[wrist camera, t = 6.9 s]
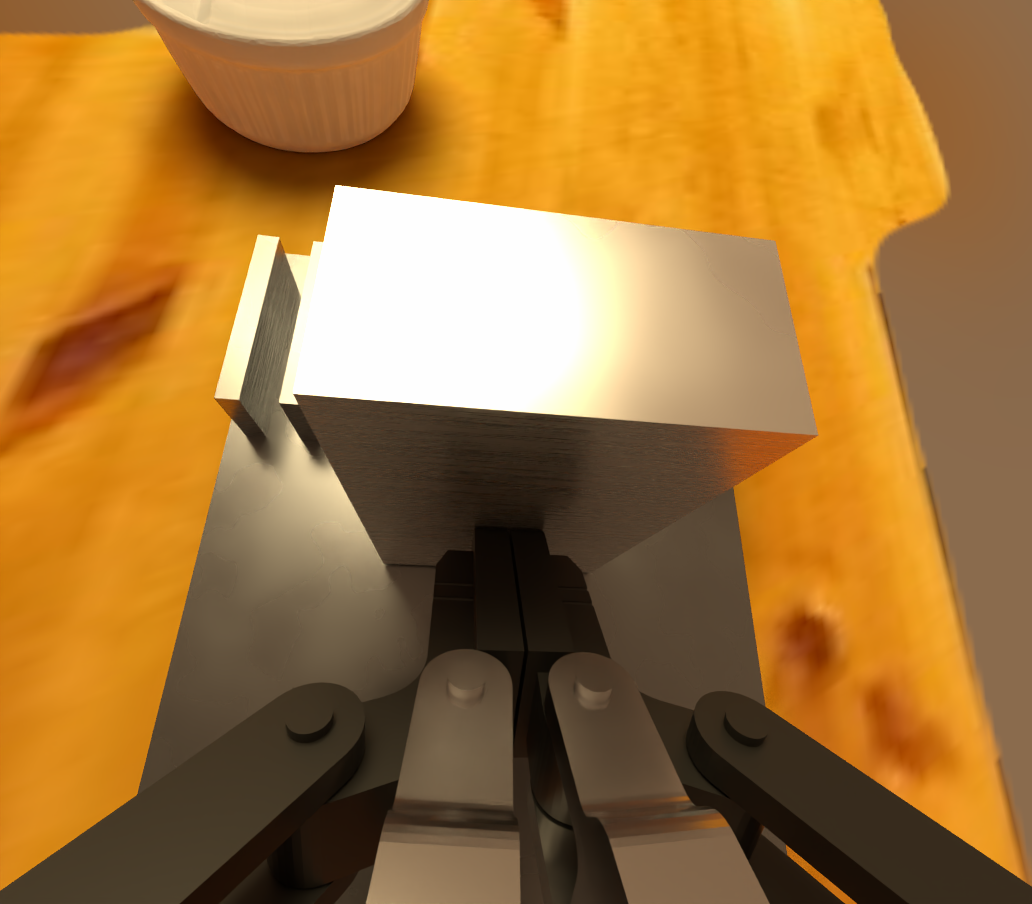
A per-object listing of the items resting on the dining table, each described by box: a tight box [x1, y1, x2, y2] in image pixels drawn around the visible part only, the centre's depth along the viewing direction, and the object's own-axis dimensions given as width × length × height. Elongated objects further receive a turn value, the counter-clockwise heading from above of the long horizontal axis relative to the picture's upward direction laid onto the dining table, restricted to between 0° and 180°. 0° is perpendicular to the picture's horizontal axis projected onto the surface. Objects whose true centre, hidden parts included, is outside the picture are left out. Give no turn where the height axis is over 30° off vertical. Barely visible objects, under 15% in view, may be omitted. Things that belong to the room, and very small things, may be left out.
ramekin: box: [133, 0, 429, 152], centre depth 22 cm, size 11×11×5 cm
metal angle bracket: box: [293, 185, 818, 572], centre depth 13 cm, size 11×6×10 cm, turn 179°
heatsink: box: [137, 235, 787, 904], centre depth 14 cm, size 26×16×5 cm, turn 179°
